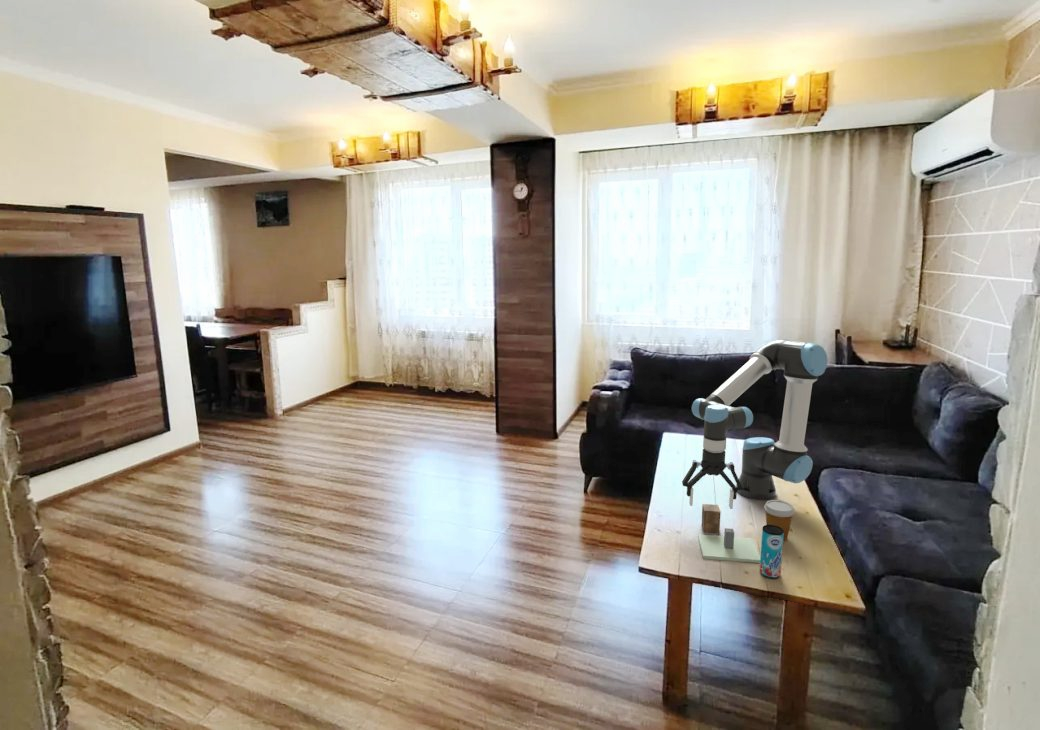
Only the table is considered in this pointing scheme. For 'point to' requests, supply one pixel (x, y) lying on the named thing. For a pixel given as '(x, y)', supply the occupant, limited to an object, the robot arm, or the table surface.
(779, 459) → the robot arm
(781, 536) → the teal and black cylinder
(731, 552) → the post board
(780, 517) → the disposable coffee cup
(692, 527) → the table surface
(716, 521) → the box
